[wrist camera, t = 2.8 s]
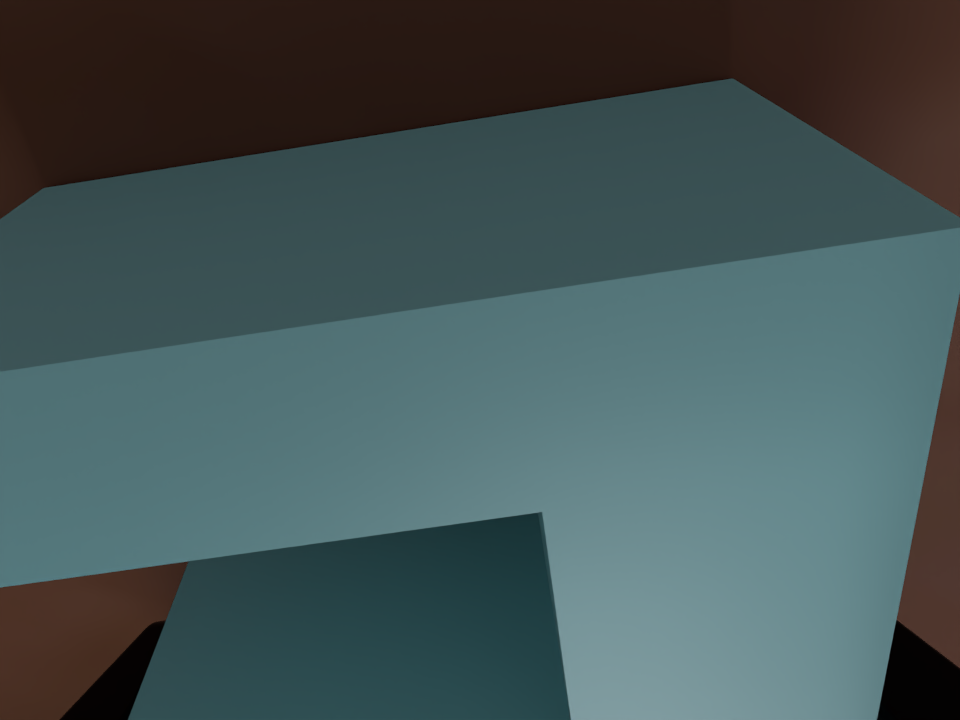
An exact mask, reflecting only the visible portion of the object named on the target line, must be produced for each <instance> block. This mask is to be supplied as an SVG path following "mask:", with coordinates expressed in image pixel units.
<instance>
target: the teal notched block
mask: <svg viewBox="0 0 960 720" xmlns="http://www.w3.org/2000/svg"><path fill="white" fill-rule="evenodd" d="M959 294H960V218H959V217H958V216H956V215H954V214H953V213H951V212H950V211H948V210H946V209H945V208H943V207H941V206H940V205H938V204H937V203H935V202H933V201H932V200H930V199H928V198H927V197H925V196H924V195H922V194H920V193H919V192H917V191H915V190H914V189H912V188H910V187H909V186H907V185H906V184H904V183H902V182H901V181H899V180H897V179H896V178H894V177H893V176H891V175H889V174H888V173H886V172H884V171H883V170H881V169H880V168H878V167H876V166H875V165H873V164H871V163H870V162H868V161H866V160H865V159H863V158H862V157H860V156H858V155H857V154H855V153H853V152H852V151H850V150H849V149H847V148H845V147H844V146H842V145H840V144H839V143H837V142H836V141H834V140H832V139H831V138H829V137H827V136H826V135H824V134H823V133H821V132H819V131H818V130H816V129H814V128H813V127H811V126H809V125H808V124H806V123H805V122H803V121H801V120H800V119H798V118H796V117H795V116H793V115H792V114H790V113H788V112H787V111H785V110H783V109H782V108H780V107H779V106H777V105H775V104H774V103H772V102H770V101H769V100H767V99H765V98H764V97H762V96H761V95H759V94H757V93H756V92H754V91H752V90H751V89H749V88H748V87H746V86H744V85H743V84H741V83H739V82H738V81H736V80H735V79H733V78H732V79H725V80H719V81H713V82H707V83H700V84H694V85H688V86H682V87H675V88H669V89H663V90H656V91H650V92H644V93H638V94H631V95H625V96H619V97H612V98H606V99H600V100H594V101H587V102H581V103H575V104H569V105H562V106H556V107H550V108H543V109H537V110H531V111H525V112H518V113H512V114H506V115H499V116H493V117H487V118H481V119H474V120H468V121H462V122H456V123H449V124H443V125H437V126H430V127H424V128H418V129H412V130H405V131H399V132H393V133H386V134H380V135H374V136H368V137H361V138H355V139H349V140H343V141H336V142H330V143H324V144H317V145H311V146H305V147H299V148H292V149H286V150H280V151H273V152H267V153H261V154H255V155H248V156H242V157H236V158H230V159H223V160H217V161H211V162H204V163H198V164H192V165H186V166H179V167H173V168H167V169H160V170H154V171H148V172H142V173H135V174H129V175H123V176H117V177H110V178H104V179H98V180H91V181H85V182H79V183H73V184H66V185H60V186H54V187H47V188H43V189H42V190H40V191H39V192H37V193H36V194H35V195H33V196H32V197H30V198H29V199H28V200H26V201H25V202H24V203H22V204H21V205H19V206H18V207H17V208H15V209H14V210H12V211H11V212H10V213H8V214H7V215H5V216H4V217H3V218H1V219H0V587H7V586H14V585H21V584H29V583H36V582H43V581H50V580H57V579H65V578H72V577H79V576H86V575H93V574H101V573H108V572H115V571H122V570H129V569H136V568H144V567H151V566H158V565H165V564H172V563H180V562H187V561H189V562H188V565H187V567H186V570H185V572H184V575H183V578H182V580H181V583H180V585H179V588H178V591H177V593H176V596H175V598H174V601H173V604H172V606H171V609H170V611H169V614H168V617H167V619H166V622H165V625H164V627H163V630H162V632H161V635H160V638H159V640H158V643H157V645H156V648H155V651H154V653H153V656H152V658H151V661H150V664H149V666H148V669H147V671H146V674H145V677H144V679H143V682H142V684H141V687H140V690H139V692H138V695H137V698H136V700H135V703H134V705H133V708H132V711H131V713H130V716H129V718H128V720H877V717H878V712H879V707H880V701H881V696H882V691H883V686H884V681H885V676H886V670H887V665H888V660H889V655H890V650H891V645H892V639H893V634H894V629H895V624H896V619H897V614H898V608H899V603H900V598H901V593H902V588H903V583H904V578H905V572H906V567H907V562H908V557H909V552H910V547H911V541H912V536H913V531H914V526H915V521H916V516H917V510H918V505H919V500H920V495H921V490H922V485H923V479H924V474H925V469H926V464H927V459H928V454H929V449H930V443H931V438H932V433H933V428H934V423H935V418H936V412H937V407H938V402H939V397H940V392H941V387H942V381H943V376H944V371H945V366H946V361H947V356H948V350H949V345H950V340H951V335H952V330H953V325H954V320H955V314H956V309H957V304H958V299H959Z"/></svg>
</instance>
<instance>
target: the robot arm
mask: <svg viewBox="0 0 960 720" xmlns="http://www.w3.org/2000/svg"><path fill="white" fill-rule="evenodd" d="M165 622H166V621H159V622H155V623H152V624H151V625H149V626H148V627H147V628H146V629H145V630H144V631H143V632H142V633H141V634H140V635H139V636H138V637H137V638H136V639H135V640H134V641H133V642H132V644H131V645H130V646H129V647H128V648H127V649H126V650H125V651H124V652H123V653H122V654H121V655H120V656H119V657H118V658H117V659H116V660H115V662H114V663H113V664H112V665H111V666H110V667H109V668H108V669H107V670H106V671H105V672H104V673H103V674H102V675H101V676H100V677H99V678H98V679H97V681H96V682H95V683H94V684H93V685H92V686H91V687H90V688H89V689H88V690H87V691H86V692H85V693H84V694H83V695H82V696H81V697H80V699H79V700H78V701H77V702H76V703H75V704H74V705H73V706H72V707H71V708H70V709H69V710H68V711H67V712H66V713H65V714H64V715H63V716H62V718H61V719H60V720H128V718H129V716H130V713H131V711H132V708H133V705H134V703H135V700H136V698H137V695H138V692H139V690H140V687H141V684H142V682H143V679H144V677H145V674H146V671H147V669H148V666H149V664H150V661H151V658H152V656H153V653H154V651H155V648H156V645H157V643H158V640H159V638H160V635H161V632H162V630H163V627H164V625H165ZM877 720H960V668H959V667H957V666H956V665H955V664H953V663H952V662H951V661H950V660H948V659H947V658H946V657H944V656H943V655H942V654H940V653H939V652H938V651H937V650H935V649H934V648H933V647H931V646H930V645H929V644H927V643H926V642H925V641H923V640H922V639H921V638H920V637H918V636H917V635H916V634H914V633H913V632H912V631H910V630H909V629H908V628H907V627H905V626H904V625H903V624H901V623H900V622H899V621H897V620H896V624H895V629H894V634H893V639H892V645H891V650H890V655H889V660H888V665H887V670H886V676H885V681H884V686H883V691H882V696H881V701H880V707H879V712H878V717H877Z"/></svg>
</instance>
